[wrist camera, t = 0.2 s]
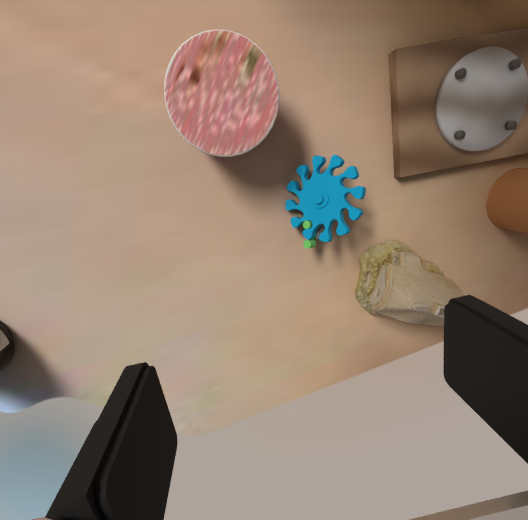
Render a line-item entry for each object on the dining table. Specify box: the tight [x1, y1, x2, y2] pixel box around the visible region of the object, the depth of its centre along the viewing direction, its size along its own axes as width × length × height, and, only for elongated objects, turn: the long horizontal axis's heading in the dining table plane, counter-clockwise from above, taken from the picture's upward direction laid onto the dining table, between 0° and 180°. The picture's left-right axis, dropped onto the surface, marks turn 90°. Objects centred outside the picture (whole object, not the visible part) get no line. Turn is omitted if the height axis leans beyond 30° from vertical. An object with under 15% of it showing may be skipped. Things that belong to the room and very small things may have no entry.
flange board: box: [389, 27, 528, 177], centre depth 37 cm, size 14×20×3 cm
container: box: [164, 30, 279, 157], centre depth 32 cm, size 10×10×8 cm
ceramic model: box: [355, 241, 463, 326], centre depth 40 cm, size 14×11×10 cm
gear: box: [285, 155, 366, 248], centre depth 38 cm, size 11×6×10 cm
